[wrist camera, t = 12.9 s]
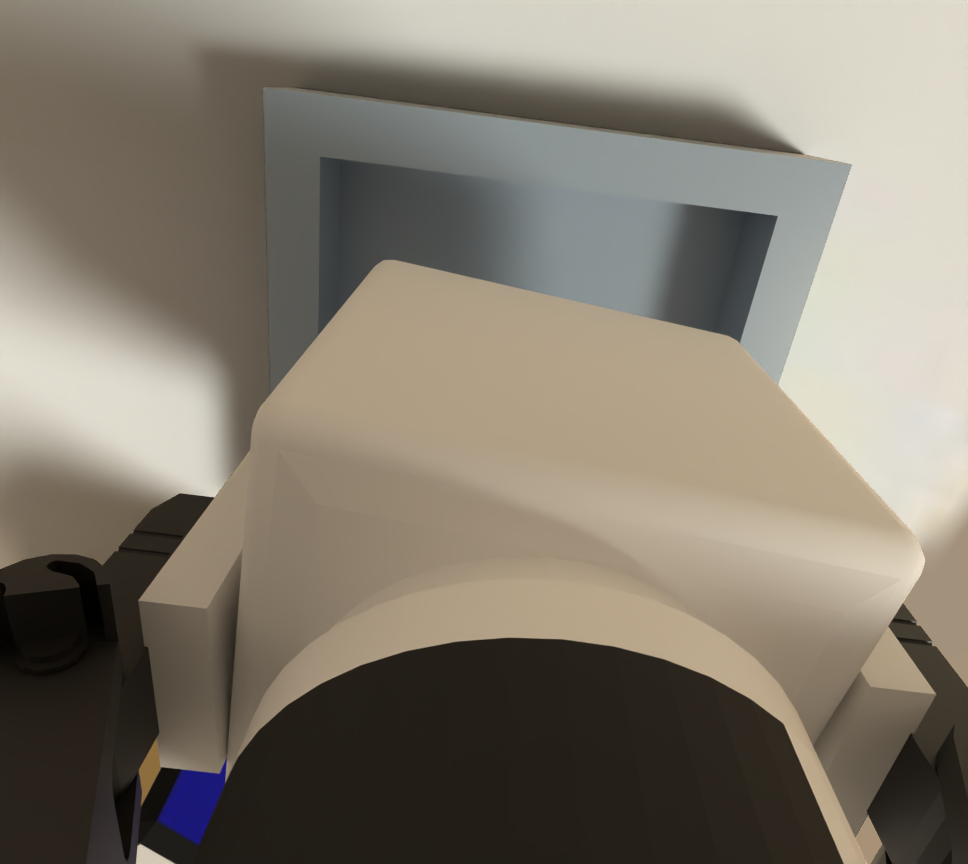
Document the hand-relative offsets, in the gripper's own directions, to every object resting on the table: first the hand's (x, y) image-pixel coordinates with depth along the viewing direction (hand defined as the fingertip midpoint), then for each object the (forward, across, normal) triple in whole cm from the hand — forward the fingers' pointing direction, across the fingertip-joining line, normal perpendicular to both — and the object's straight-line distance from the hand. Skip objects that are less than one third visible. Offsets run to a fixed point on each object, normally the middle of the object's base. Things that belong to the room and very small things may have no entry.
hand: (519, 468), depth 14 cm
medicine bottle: (+1, 0, 0) cm, 1 cm away
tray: (+6, 0, 0) cm, 6 cm away
